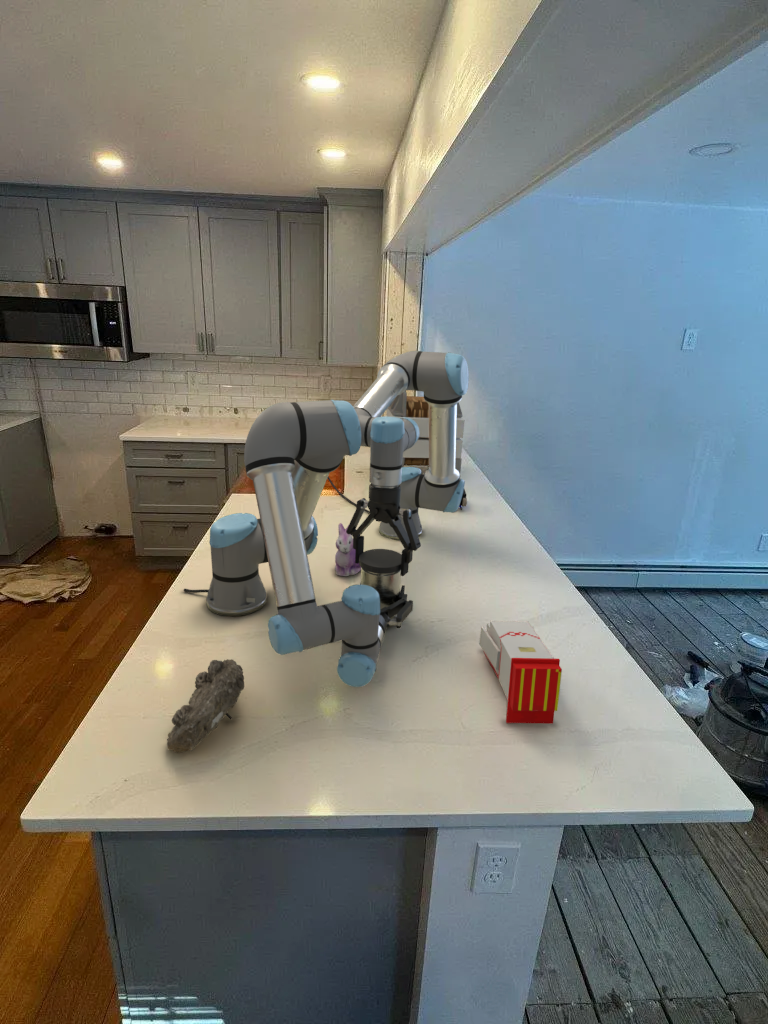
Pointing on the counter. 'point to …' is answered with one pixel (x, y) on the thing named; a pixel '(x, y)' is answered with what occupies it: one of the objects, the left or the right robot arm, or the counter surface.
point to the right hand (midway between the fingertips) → (381, 567)
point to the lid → (380, 561)
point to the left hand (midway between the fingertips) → (382, 587)
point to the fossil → (206, 705)
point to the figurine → (345, 554)
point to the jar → (383, 586)
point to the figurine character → (463, 500)
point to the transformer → (422, 429)
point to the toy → (523, 670)
